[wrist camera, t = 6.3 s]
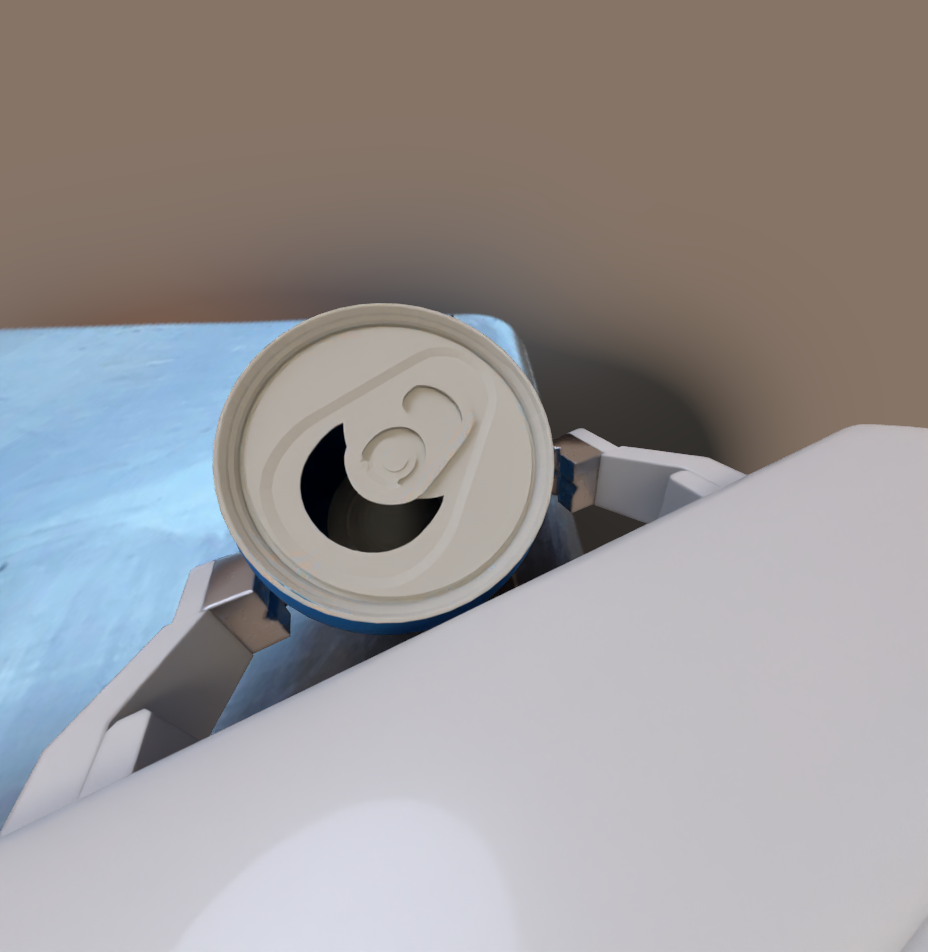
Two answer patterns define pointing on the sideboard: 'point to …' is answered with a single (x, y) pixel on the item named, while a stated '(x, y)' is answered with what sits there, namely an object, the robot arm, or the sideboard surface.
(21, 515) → the sideboard surface
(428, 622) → the beverage can
